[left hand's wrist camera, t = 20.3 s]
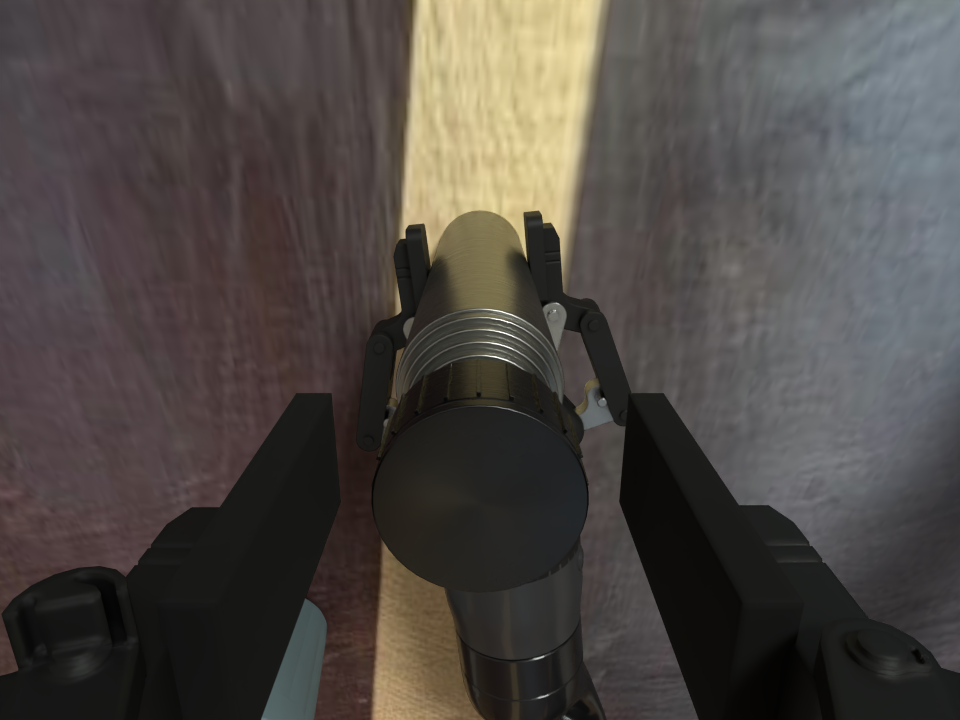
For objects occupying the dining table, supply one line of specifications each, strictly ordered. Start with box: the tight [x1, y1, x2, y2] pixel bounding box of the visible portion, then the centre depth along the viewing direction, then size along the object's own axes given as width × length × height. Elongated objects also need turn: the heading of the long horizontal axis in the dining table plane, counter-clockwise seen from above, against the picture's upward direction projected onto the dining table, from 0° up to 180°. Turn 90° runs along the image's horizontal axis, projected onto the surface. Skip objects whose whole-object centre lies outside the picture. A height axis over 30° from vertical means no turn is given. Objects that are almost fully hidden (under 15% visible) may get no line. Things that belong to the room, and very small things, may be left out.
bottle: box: [396, 211, 564, 404], centre depth 25 cm, size 5×5×25 cm
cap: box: [372, 358, 589, 593], centre depth 14 cm, size 4×4×2 cm
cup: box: [261, 599, 327, 720], centre depth 40 cm, size 8×8×10 cm
